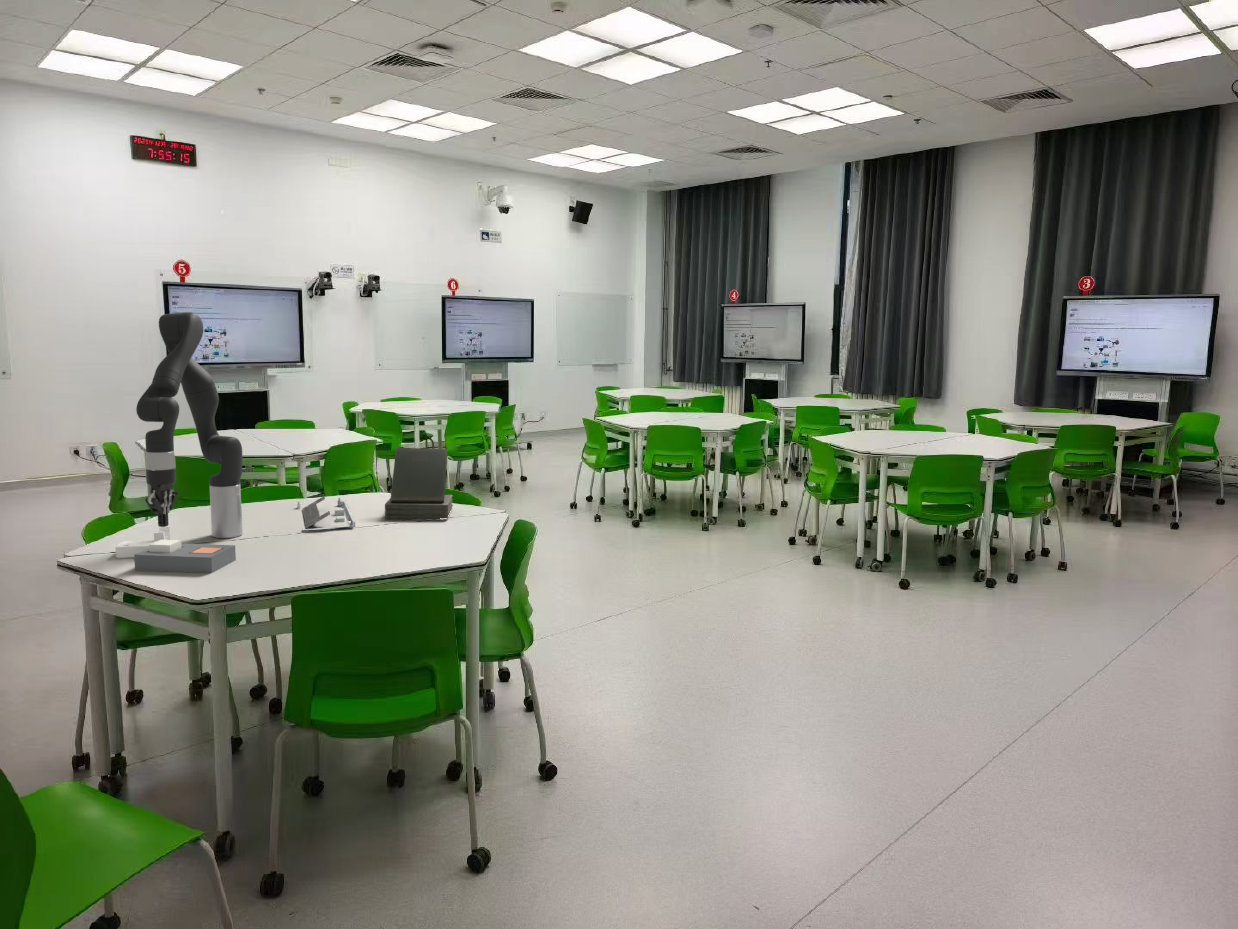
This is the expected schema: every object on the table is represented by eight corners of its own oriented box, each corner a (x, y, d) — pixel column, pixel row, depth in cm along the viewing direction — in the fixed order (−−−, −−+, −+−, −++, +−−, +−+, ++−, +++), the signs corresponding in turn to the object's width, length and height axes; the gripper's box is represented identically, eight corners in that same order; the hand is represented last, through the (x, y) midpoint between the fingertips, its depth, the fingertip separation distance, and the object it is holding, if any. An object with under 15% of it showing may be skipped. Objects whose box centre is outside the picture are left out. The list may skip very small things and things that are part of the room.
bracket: (170, 550, 258) (169, 527, 257) (164, 556, 251) (163, 532, 250) (123, 552, 254) (121, 528, 253) (116, 558, 247) (114, 533, 246)
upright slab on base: (384, 520, 308) (383, 453, 304) (393, 509, 327) (393, 446, 323) (447, 521, 310) (447, 454, 306) (452, 510, 329) (452, 447, 326)
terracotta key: (202, 558, 245) (201, 547, 244) (222, 559, 245) (221, 548, 244) (191, 564, 239) (190, 552, 238) (212, 565, 239) (211, 553, 238)
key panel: (163, 557, 249) (162, 542, 248) (235, 560, 249) (235, 545, 248) (135, 570, 235) (134, 554, 235) (212, 573, 235) (211, 557, 234)
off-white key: (161, 551, 245) (160, 539, 244) (181, 551, 245) (181, 540, 244) (149, 556, 239) (149, 544, 238) (170, 557, 239) (169, 545, 238)
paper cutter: (345, 506, 331) (345, 492, 330) (356, 531, 291) (356, 515, 290) (297, 508, 324) (296, 494, 323) (301, 534, 284) (301, 518, 283)
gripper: (161, 463, 244) (163, 521, 247) (133, 469, 231) (136, 530, 234) (186, 464, 244) (188, 522, 247) (160, 470, 231) (163, 531, 234)
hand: (163, 526), depth 240 cm, fingers closed
